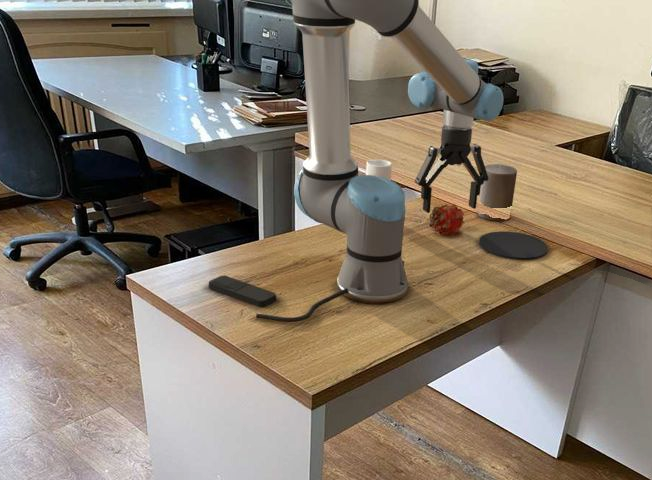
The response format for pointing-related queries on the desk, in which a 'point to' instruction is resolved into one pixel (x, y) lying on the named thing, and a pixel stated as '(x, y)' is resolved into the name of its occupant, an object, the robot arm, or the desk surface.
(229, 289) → the remote control
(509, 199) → the pillar candle
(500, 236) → the mat
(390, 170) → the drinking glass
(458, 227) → the dragon fruit
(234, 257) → the desk surface
